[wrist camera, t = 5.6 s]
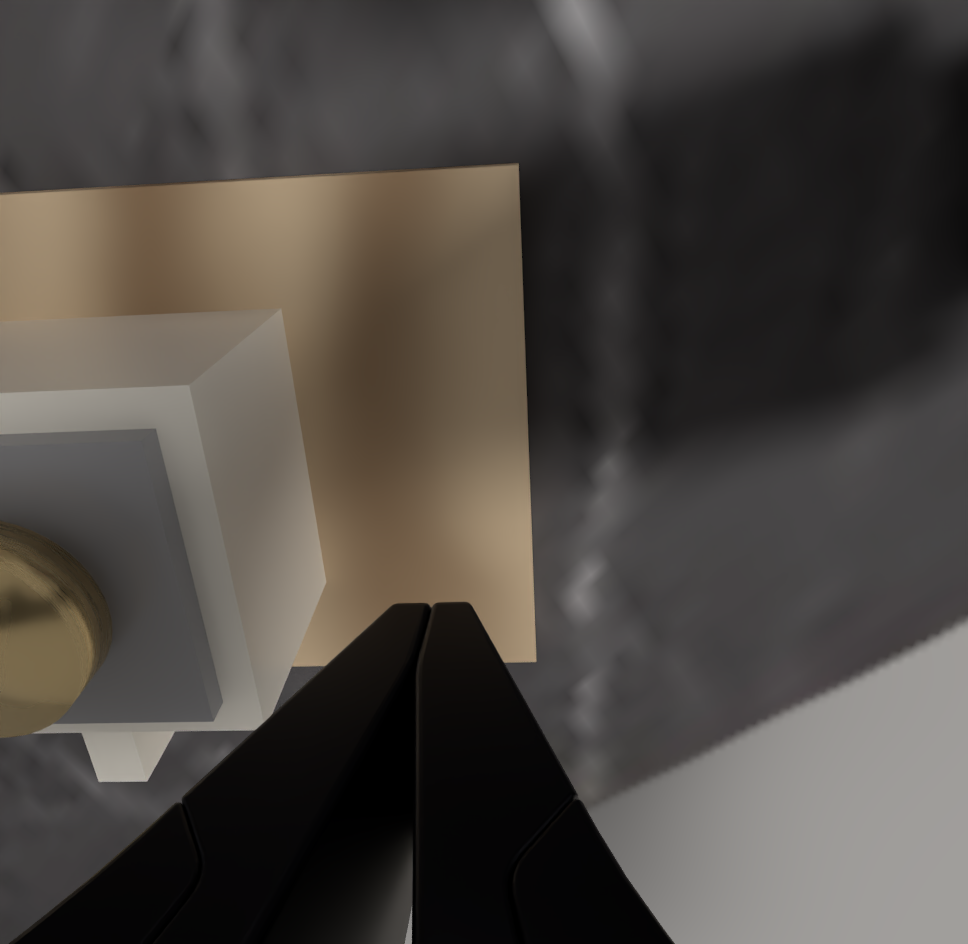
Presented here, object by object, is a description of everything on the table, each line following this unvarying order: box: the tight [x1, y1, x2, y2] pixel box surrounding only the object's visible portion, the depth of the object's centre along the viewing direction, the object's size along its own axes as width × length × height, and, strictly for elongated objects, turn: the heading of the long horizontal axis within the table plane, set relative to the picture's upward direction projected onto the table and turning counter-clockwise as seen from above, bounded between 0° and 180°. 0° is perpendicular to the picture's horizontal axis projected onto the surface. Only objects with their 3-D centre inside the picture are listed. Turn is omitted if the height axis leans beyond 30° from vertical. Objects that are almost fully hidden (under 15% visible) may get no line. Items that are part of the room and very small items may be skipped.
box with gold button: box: [0, 308, 326, 782], centre depth 19 cm, size 8×10×7 cm
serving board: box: [0, 163, 536, 666], centre depth 22 cm, size 20×14×1 cm
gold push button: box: [0, 521, 113, 737], centre depth 17 cm, size 5×5×7 cm
